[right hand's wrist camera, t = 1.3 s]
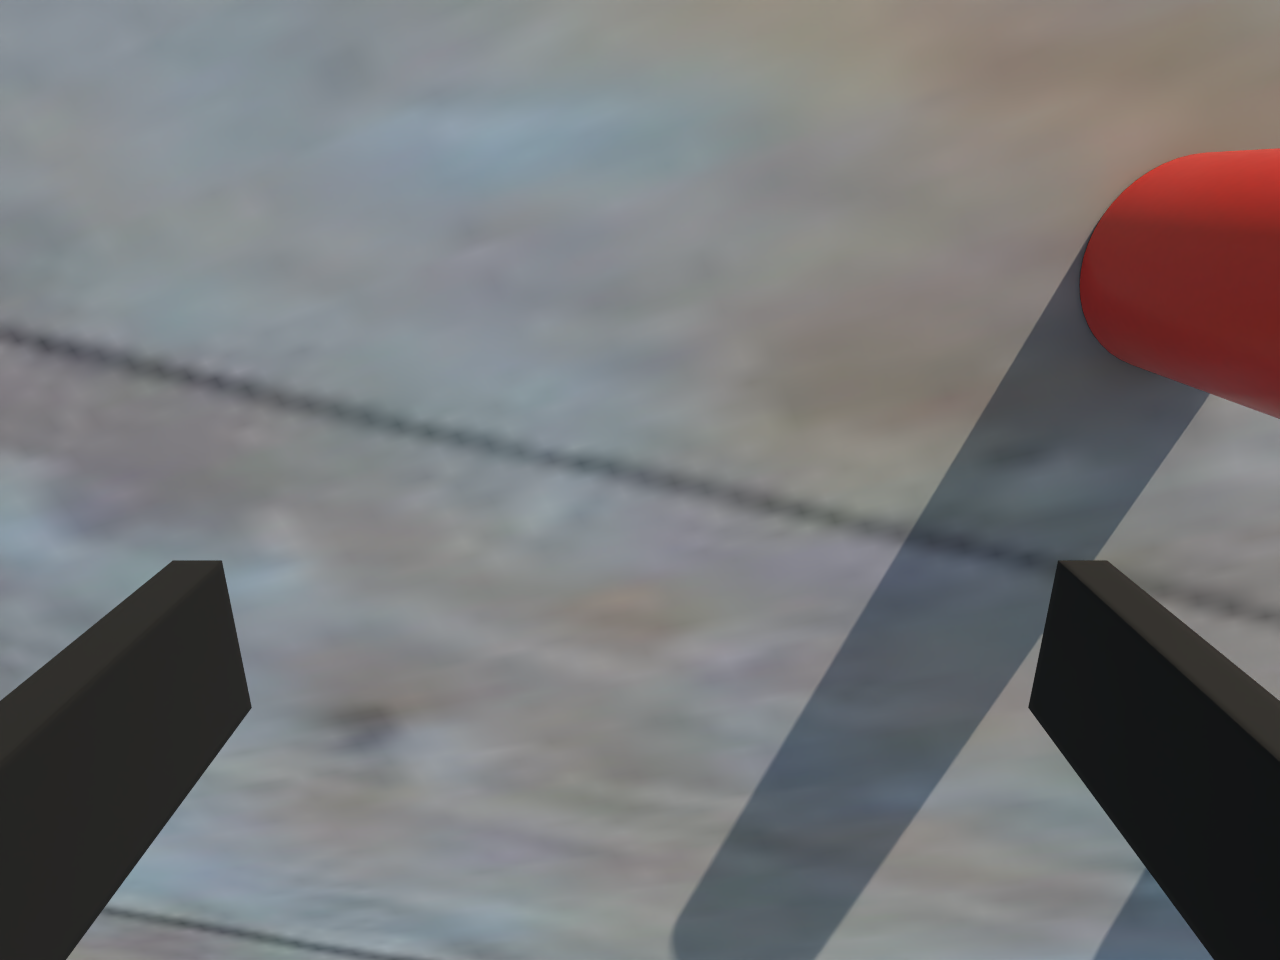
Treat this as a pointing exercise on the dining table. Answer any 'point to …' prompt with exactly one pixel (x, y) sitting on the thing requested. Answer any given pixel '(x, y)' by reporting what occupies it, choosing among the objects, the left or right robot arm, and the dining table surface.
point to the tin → (1194, 275)
